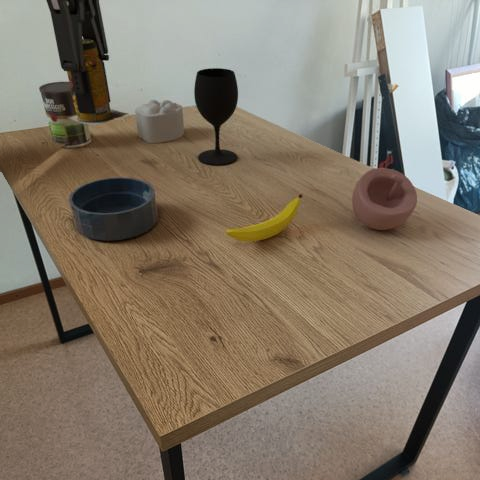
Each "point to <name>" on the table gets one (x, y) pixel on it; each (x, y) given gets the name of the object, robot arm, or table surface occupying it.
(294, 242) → the table surface
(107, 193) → the bowl
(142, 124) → the lumpy-topped squat cylinder
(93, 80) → the condiment
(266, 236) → the banana
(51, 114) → the coffee can
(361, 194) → the mortar and pestle
